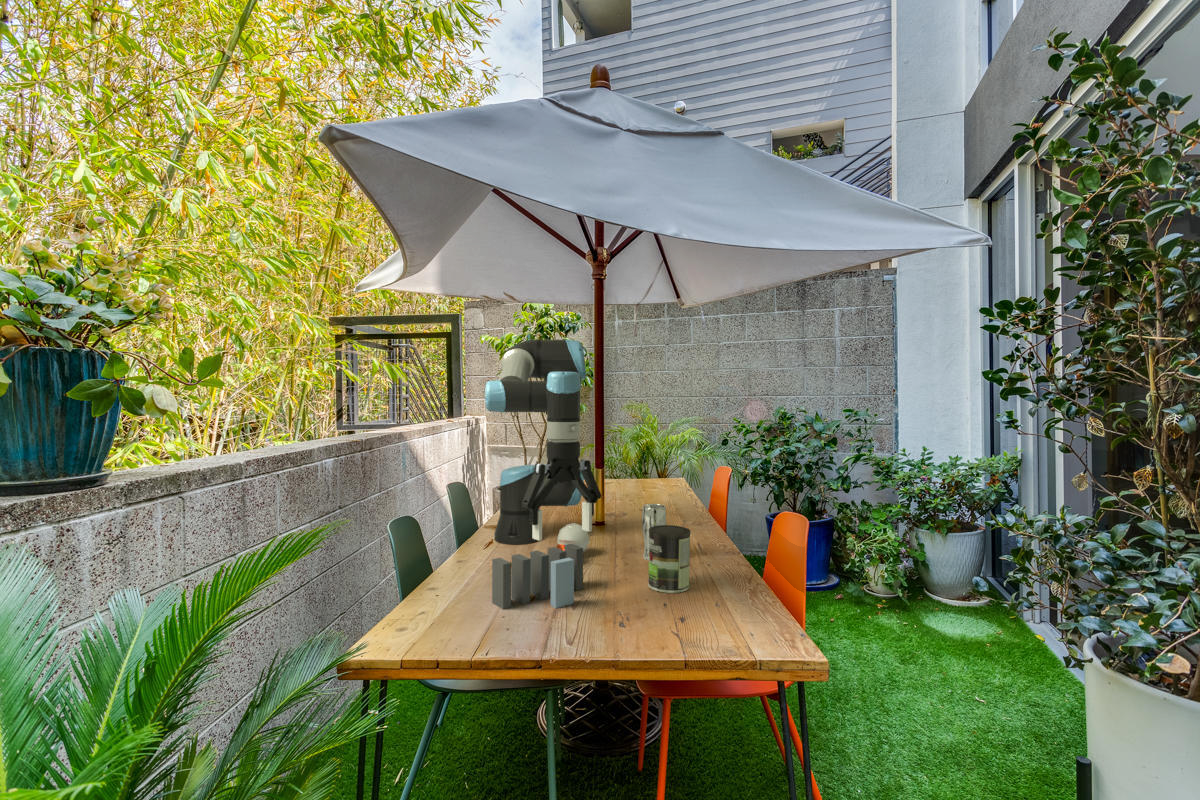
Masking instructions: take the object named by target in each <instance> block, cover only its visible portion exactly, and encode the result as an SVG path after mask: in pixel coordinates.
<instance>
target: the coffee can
mask: <svg viewBox="0 0 1200 800" xmlns="http://www.w3.org/2000/svg"><path fill="white" fill-rule="evenodd" d="M691 533H692V531H691V530H690V529H689V528H687V527H684V526H680V525H674V524H673V525H671V524H666V525H659V526H654V527H651V528H649V560H648V583H647V586H648V588H649V589H650V588H651V589H650V590H653V591H654V590H655V592H657V591H659V592H658V593H662V592H663V593H662V594H680V592H681V593H684V591H685V592H686V591H688V590H690V557H691V556H690V555H691V554H690V552H691V550H690V548H691Z"/></svg>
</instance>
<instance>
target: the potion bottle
mask: <svg viewBox="0 0 1200 800" xmlns="http://www.w3.org/2000/svg"><path fill="white" fill-rule="evenodd" d="M556 543H557V545H556V548H559V549H561V550H564V551H565V545H567V544H573V545H576V546H579V547H582V548H583V553H584V552H586V551H587V550H588V547H589V544H590V534H589V532H588V531H585V530H582V524H578V523H576V522H573V523H568V524H566V525H564V526H563V527H562V528H560V529H559V530H558V535H557V538H556Z"/></svg>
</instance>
